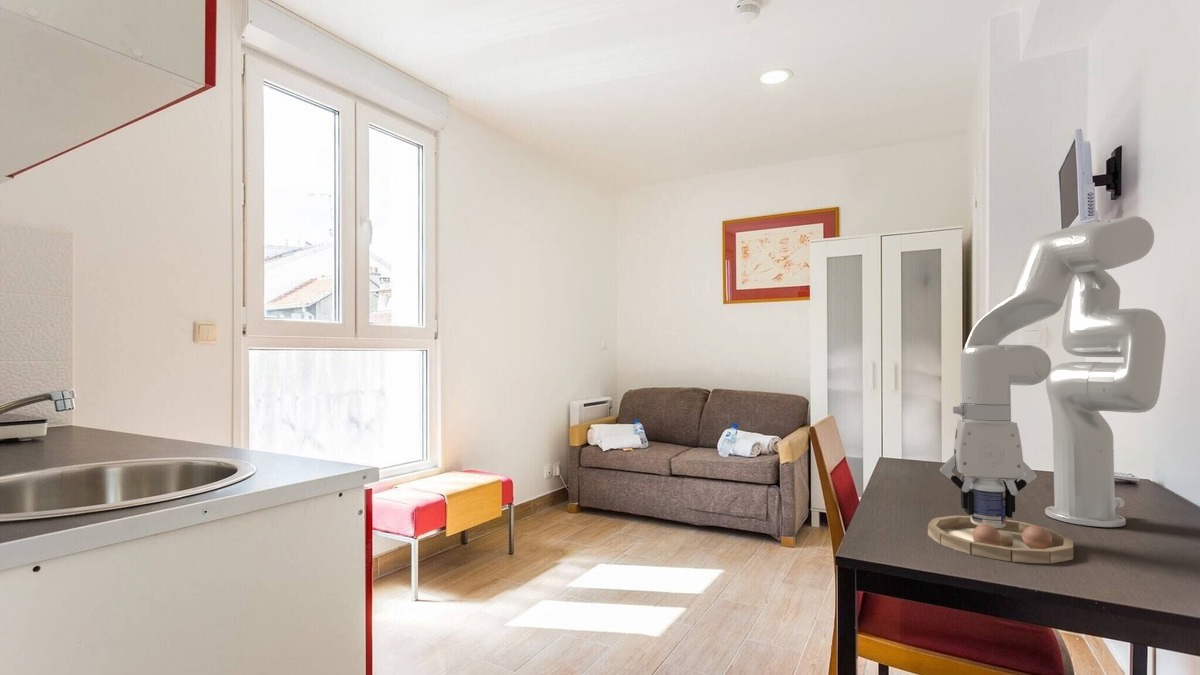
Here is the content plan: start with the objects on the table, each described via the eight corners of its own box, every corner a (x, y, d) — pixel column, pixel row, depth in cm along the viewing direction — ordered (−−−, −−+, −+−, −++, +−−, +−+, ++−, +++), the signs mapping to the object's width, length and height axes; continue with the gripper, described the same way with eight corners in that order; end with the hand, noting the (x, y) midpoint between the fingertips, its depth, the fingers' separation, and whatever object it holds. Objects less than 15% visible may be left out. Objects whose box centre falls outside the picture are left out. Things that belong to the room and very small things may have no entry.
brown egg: (983, 544, 102) (983, 520, 102) (1007, 551, 98) (1006, 526, 98) (966, 547, 100) (966, 522, 100) (990, 554, 97) (989, 529, 97)
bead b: (1032, 545, 101) (1032, 521, 101) (1058, 552, 98) (1057, 527, 98) (1016, 548, 100) (1016, 523, 100) (1042, 555, 96) (1041, 530, 96)
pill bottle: (1011, 529, 105) (1010, 473, 105) (977, 528, 106) (976, 472, 106) (997, 521, 110) (997, 468, 111) (965, 519, 111) (964, 467, 112)
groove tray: (982, 526, 116) (981, 511, 116) (1102, 559, 97) (1102, 542, 97) (903, 537, 109) (903, 522, 109) (1017, 576, 90) (1017, 557, 90)
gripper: (937, 414, 108) (938, 515, 107) (1050, 417, 103) (1052, 524, 102) (928, 410, 115) (930, 505, 115) (1033, 413, 110) (1036, 513, 109)
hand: (987, 513), depth 108 cm, fingers closed on pill bottle, 5 cm apart
